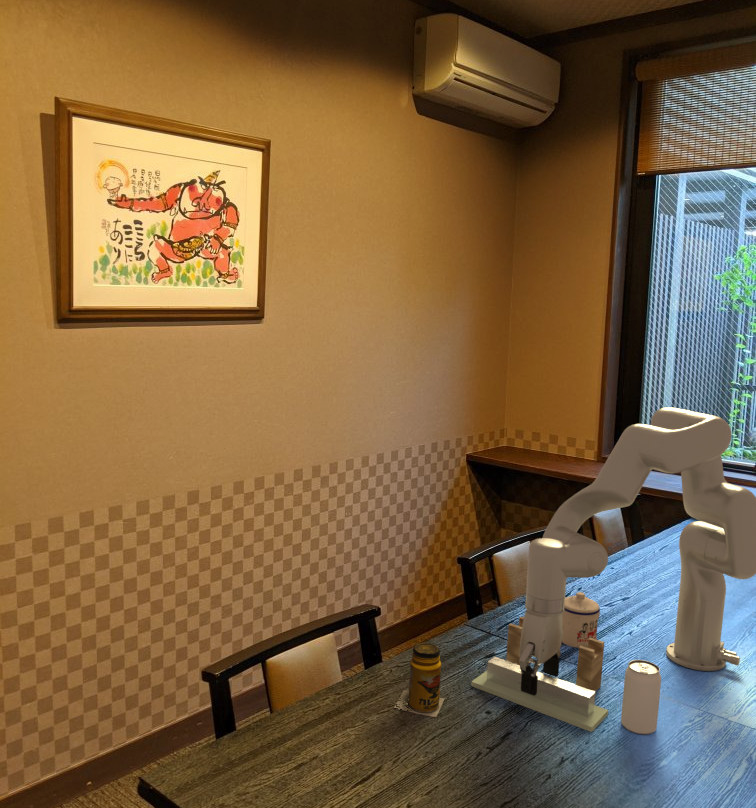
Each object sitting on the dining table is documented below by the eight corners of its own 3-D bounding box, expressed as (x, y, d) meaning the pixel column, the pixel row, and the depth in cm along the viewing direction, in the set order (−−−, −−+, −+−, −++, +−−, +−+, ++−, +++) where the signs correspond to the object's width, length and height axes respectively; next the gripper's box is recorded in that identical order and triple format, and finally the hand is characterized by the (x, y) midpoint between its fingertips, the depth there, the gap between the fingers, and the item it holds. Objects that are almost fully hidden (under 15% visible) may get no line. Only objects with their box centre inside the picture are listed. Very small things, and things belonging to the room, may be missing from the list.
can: (656, 721, 153) (662, 662, 151) (656, 738, 147) (662, 677, 145) (621, 714, 155) (626, 656, 153) (620, 731, 149) (625, 671, 147)
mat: (607, 714, 154) (608, 710, 154) (591, 732, 148) (592, 727, 148) (490, 672, 170) (490, 667, 170) (471, 686, 164) (471, 681, 163)
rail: (593, 711, 154) (595, 691, 153) (587, 717, 151) (589, 697, 151) (493, 674, 167) (494, 656, 166) (486, 679, 164) (487, 661, 164)
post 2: (600, 686, 165) (604, 641, 164) (589, 697, 161) (592, 651, 159) (587, 681, 167) (590, 637, 166) (575, 692, 163) (578, 647, 161)
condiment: (436, 717, 151) (439, 658, 149) (393, 709, 153) (396, 650, 152) (444, 699, 158) (447, 642, 156) (403, 691, 160) (406, 635, 159)
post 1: (530, 662, 175) (533, 620, 174) (518, 672, 170) (521, 628, 169) (518, 658, 177) (521, 616, 175) (505, 667, 172) (508, 624, 171)
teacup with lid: (580, 652, 181) (584, 604, 179) (549, 638, 188) (552, 591, 186) (612, 640, 188) (616, 593, 186) (581, 626, 195) (585, 581, 193)
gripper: (546, 584, 165) (541, 662, 168) (506, 610, 151) (502, 694, 154) (581, 594, 161) (575, 673, 163) (543, 621, 147) (537, 707, 149)
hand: (539, 683), depth 159 cm, fingers open, 9 cm apart
